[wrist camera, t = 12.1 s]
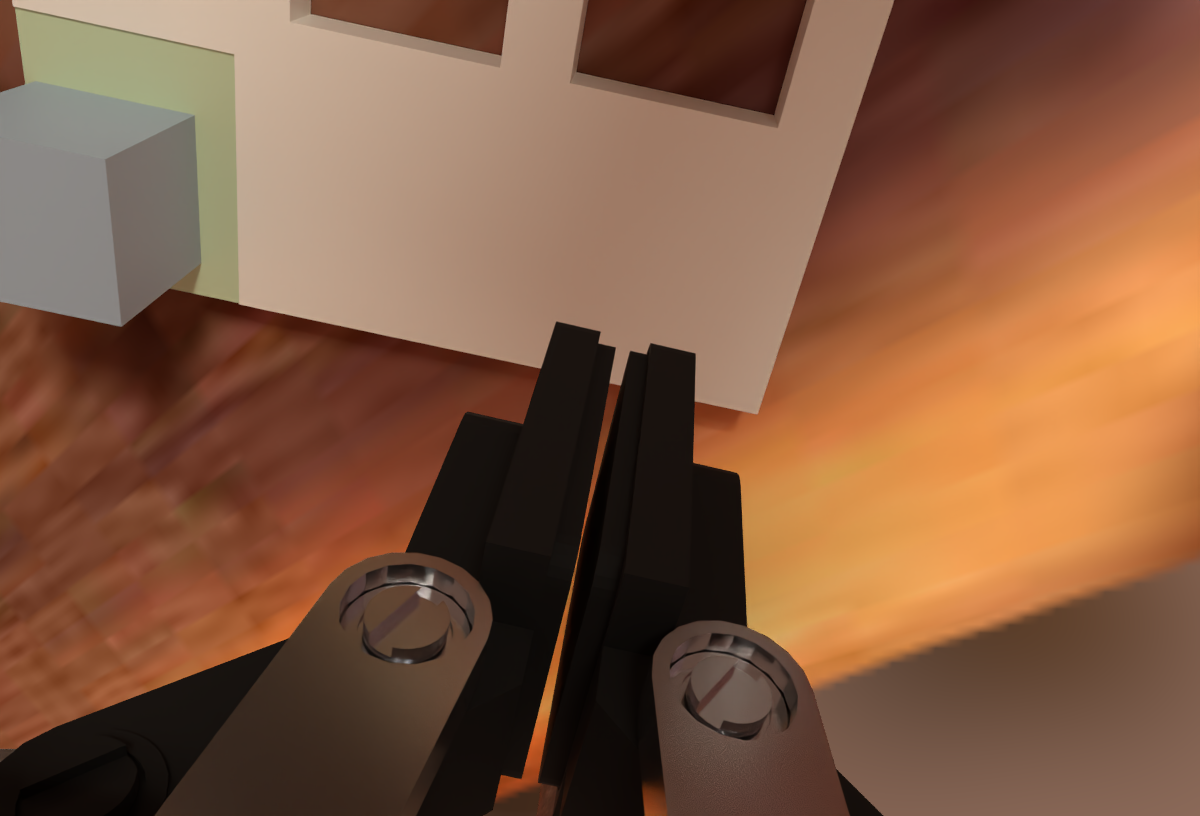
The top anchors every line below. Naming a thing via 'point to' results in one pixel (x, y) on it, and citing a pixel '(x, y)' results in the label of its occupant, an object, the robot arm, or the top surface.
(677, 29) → the top surface
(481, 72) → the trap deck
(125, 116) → the block
